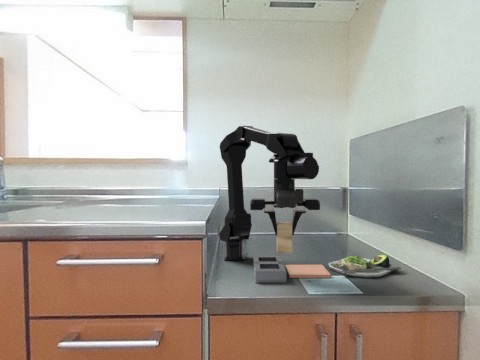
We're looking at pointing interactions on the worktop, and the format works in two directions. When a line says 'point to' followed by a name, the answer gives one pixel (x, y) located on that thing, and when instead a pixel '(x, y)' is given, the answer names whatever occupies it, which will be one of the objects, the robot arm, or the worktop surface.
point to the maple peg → (284, 238)
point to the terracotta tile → (307, 271)
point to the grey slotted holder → (269, 269)
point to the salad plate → (364, 266)
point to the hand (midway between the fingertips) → (284, 235)
